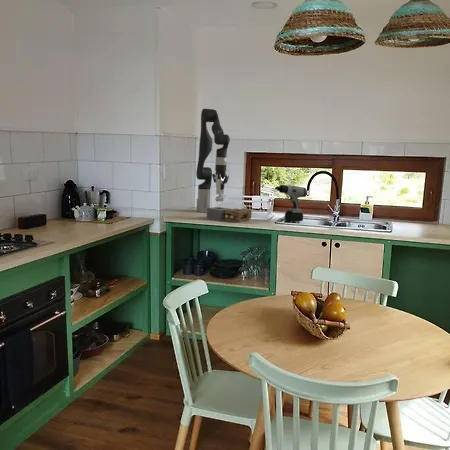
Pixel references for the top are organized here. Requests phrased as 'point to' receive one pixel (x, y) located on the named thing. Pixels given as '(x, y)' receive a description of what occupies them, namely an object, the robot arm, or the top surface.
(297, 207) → the cordless drill
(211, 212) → the grey square box
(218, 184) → the steel peg
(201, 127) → the robot arm
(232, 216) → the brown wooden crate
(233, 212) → the socket block
